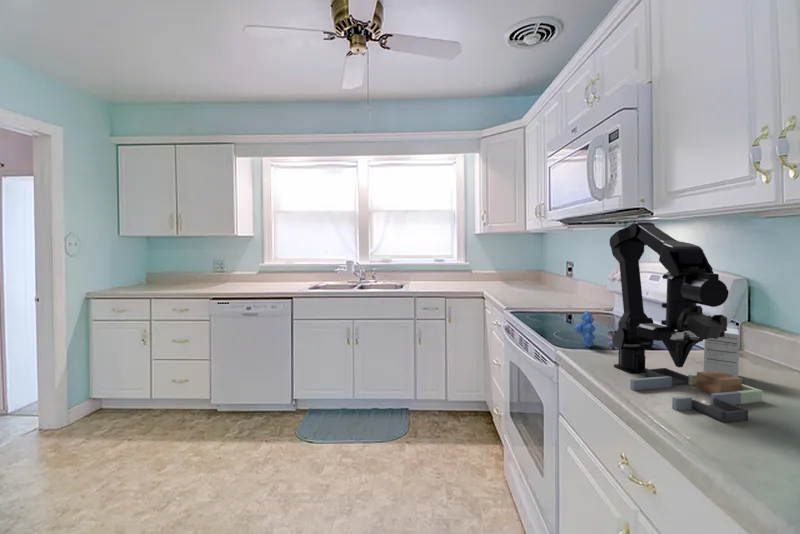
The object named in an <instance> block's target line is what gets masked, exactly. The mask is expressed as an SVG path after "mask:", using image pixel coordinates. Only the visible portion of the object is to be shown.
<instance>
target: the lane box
mask: <svg viewBox="0 0 800 534" xmlns="http://www.w3.org/2000/svg"><path fill="white" fill-rule="evenodd" d="M629 384H630V385H629V386H630V388H629V389H630V390H631V391H642V390H643V391H644V390H655V389H656V390H657V389H666V388H672V387H673V386H679V385H681V386H682V385H689V386H696V384H697V373H690V374H688V375H686V374H683V373H680V372H677V371H674V370H671V369H669V368H666V367H660V368H651V369H650V368H647V369H646V372H645V377H639V378H630V383H629ZM763 392H764V391H763V390H762V389H758V388H756V387H752V386H749V385H746V384H743V383H742V391H734V392H723V393H713V394H711V395H710V403H709V404H706V403H703V402H700V401H698V400H696V399H693V397H692V396H689V395H684V396H674V397H673V396H672V398H671V399H672V402H671V405H672V406H671V407H672V408H671V409H672V410H674V411H683V410H684V411H685V410H693V411H695V412H698V413H700V414H703V415H705V416H707V417H709V418H712V419H714V420H716V421H718V422H720V423H723V424H727V423H735V422H743V421H744V422H745V421H749V410H748V409H746V408H743V407H740V406H737V405H741V404H742V405H743V404H753V403H762V402H763V396H764V395H763V394H764V393H763Z"/></svg>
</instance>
